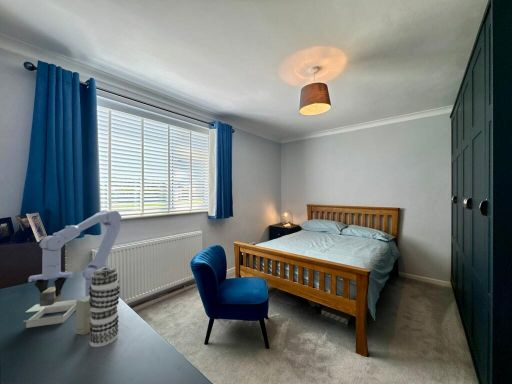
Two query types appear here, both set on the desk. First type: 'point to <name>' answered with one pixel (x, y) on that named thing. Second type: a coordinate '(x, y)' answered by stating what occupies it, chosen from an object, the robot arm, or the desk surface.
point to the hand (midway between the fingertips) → (51, 296)
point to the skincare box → (83, 315)
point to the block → (49, 297)
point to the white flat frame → (56, 307)
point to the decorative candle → (104, 306)
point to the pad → (35, 308)
